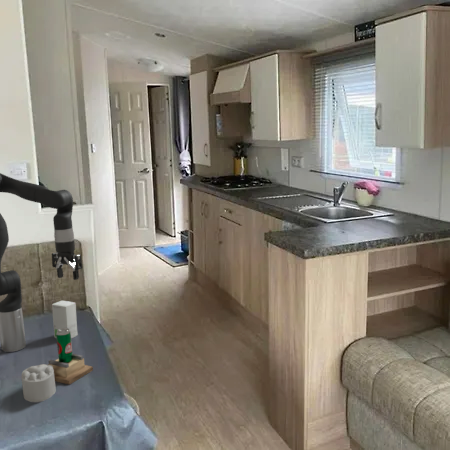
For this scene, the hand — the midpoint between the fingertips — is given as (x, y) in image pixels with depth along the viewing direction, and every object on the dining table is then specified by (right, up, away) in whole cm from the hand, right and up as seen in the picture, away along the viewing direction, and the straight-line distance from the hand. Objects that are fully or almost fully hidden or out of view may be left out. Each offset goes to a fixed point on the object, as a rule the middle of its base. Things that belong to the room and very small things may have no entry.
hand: (68, 278), depth 203 cm
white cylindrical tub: (0, -36, -32) cm, 49 cm away
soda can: (+5, -29, -20) cm, 35 cm away
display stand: (+6, -33, -19) cm, 39 cm away
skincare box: (-6, -28, +18) cm, 34 cm away
